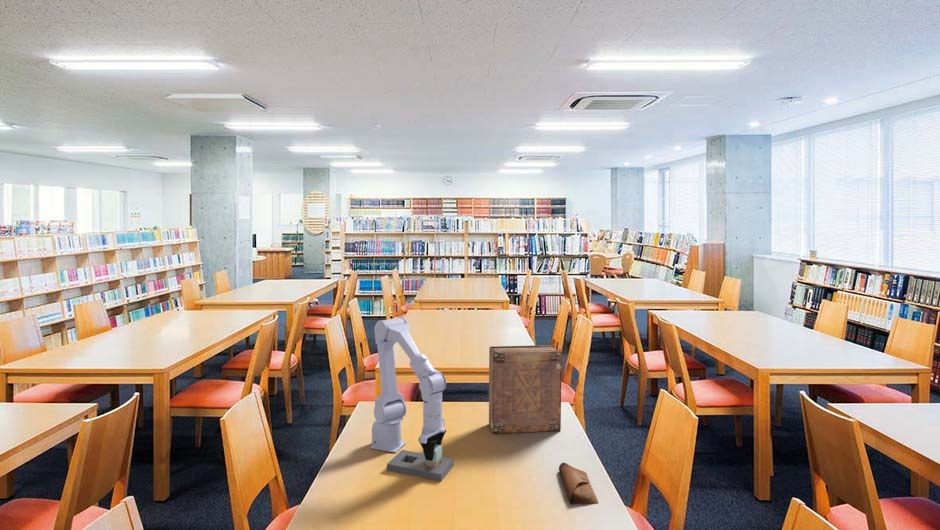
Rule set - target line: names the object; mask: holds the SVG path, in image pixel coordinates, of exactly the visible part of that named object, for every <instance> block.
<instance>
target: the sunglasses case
mask: <svg viewBox="0 0 940 530" xmlns="http://www.w3.org/2000/svg"><path fill="white" fill-rule="evenodd" d="M558 470H559V475H560V477H561V480H562V483H563V485H564V489H565V491H566V495H567V498H568V501H569V503H570V504H571V505H599V501H598V498H597V496H596V494H595V492H594V490H593V487H592V485H591V482H590V480H589V477H588V475H587V474H588V473H587V472H586V471H584V470H581V469H578V468H576V467H573V466H572V465H569V464H568V463H566V462H562V463H560V464H559V466H558Z"/></svg>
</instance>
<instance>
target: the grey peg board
mask: <svg viewBox="0 0 940 530" xmlns="http://www.w3.org/2000/svg"><path fill="white" fill-rule="evenodd" d="M454 461H455V460H454V458H450V457H446V456H442V457H441V458H440V464H439V465H438V466H437V468H433V467H428V466H425V461H424V460H423V452H417V451H411V450H406V449H401V450H399V452H398V453H397V454H396V455H395V456H393V457H392V458H391V460H389V461H388V462H387V463H386V471H387V472H391V473H397V474H401V475H407V476H412V477H417V478H423V479H427V480H432V481H437V482H443V480H444V479H445V478H446V476H447V475H448V473H450V472H451V470H452V469H453V468H454V465H455V462H454ZM451 468H452V469H451Z"/></svg>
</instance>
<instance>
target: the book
mask: <svg viewBox="0 0 940 530" xmlns="http://www.w3.org/2000/svg"><path fill="white" fill-rule="evenodd" d="M488 350H489V351H488V353H489V354H488V356H489V357H488V364H489V365H488V425H489V427H490V430H491V432H492V434H493V435H500V434H501V435H503V434H506V435H507V434H529V433H531V434H532V433H553V432H561V430H562V429H561V428H562V424H561V423H562V422H561V421H562V420H561V418H562V371H563V370H562V368H563V366H562V365H563V363H562V362H563V359H562V358H563V352H562V351H561V350H557V349H556V346H555V344H537V345H536V344H535V345H505V346H504V345H502V346H501V345H500V346H498V345H497V346H495V345H494V346H489V349H488Z"/></svg>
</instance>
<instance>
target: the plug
mask: <svg viewBox="0 0 940 530" xmlns="http://www.w3.org/2000/svg"><path fill="white" fill-rule="evenodd" d="M422 453H423V460H424V461H425V466H428V467H433V468H437V466H438V465H439V464H440V458H441V457H443V444H441V445H437V444H436V445H435V449H434V457H433V460H432V461H429V460H426V459H425V455H424V451H423V450H422Z"/></svg>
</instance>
